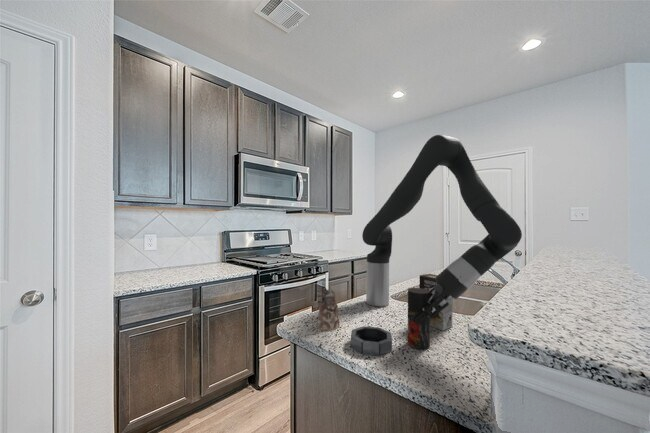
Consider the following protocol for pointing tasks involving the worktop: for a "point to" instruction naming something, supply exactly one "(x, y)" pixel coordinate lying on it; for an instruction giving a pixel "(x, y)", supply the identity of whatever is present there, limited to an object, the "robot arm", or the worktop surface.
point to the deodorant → (420, 332)
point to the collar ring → (371, 340)
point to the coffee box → (444, 316)
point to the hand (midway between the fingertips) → (412, 317)
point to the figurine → (328, 312)
